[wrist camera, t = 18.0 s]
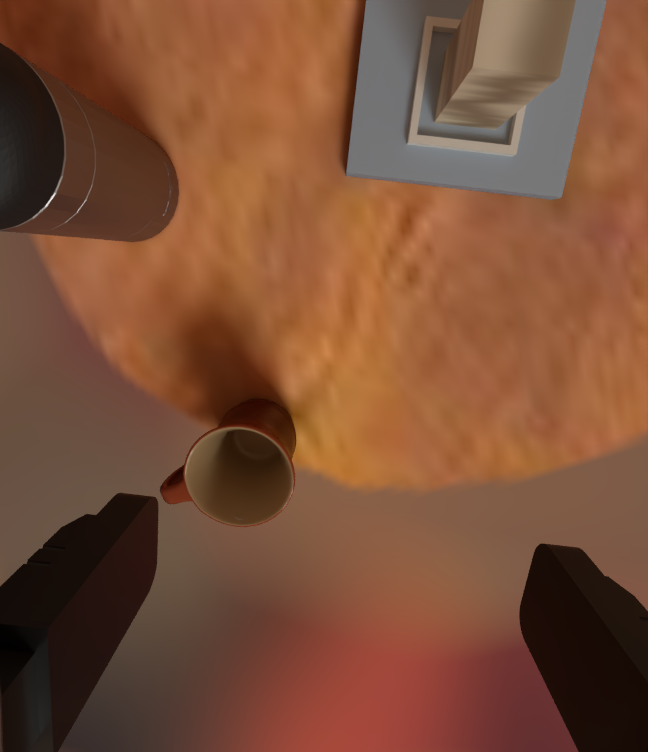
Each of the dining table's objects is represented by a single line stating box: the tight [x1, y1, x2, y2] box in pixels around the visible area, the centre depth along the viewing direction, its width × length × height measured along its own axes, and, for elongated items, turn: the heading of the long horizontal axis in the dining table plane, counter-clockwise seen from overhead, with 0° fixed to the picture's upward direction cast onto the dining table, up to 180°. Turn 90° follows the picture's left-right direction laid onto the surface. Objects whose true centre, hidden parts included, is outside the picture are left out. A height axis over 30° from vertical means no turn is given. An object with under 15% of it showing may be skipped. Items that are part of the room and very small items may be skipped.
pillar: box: [434, 0, 576, 130], centre depth 31 cm, size 5×5×11 cm
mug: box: [160, 399, 296, 527], centre depth 41 cm, size 12×9×10 cm
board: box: [346, 0, 606, 200], centre depth 36 cm, size 18×14×2 cm
